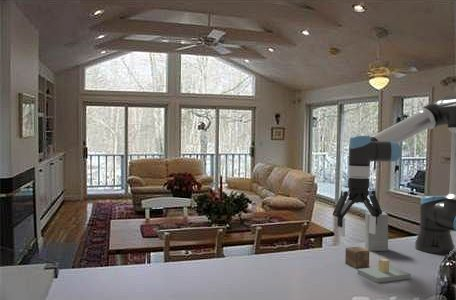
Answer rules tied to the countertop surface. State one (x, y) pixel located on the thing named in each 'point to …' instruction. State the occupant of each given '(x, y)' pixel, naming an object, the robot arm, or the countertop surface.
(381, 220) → the skincare box
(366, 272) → the pale green flat panel
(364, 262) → the cardboard shipping box
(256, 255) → the countertop surface
